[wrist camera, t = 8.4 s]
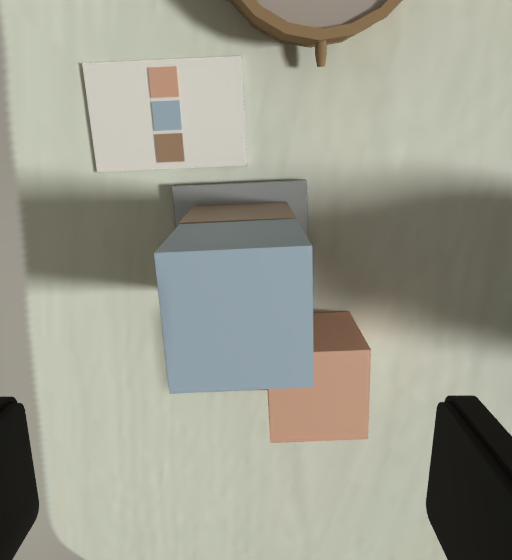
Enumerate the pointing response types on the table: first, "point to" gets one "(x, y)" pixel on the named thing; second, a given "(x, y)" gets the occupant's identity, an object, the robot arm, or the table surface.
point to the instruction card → (167, 113)
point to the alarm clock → (314, 20)
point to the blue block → (237, 306)
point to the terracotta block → (327, 387)
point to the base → (241, 202)
